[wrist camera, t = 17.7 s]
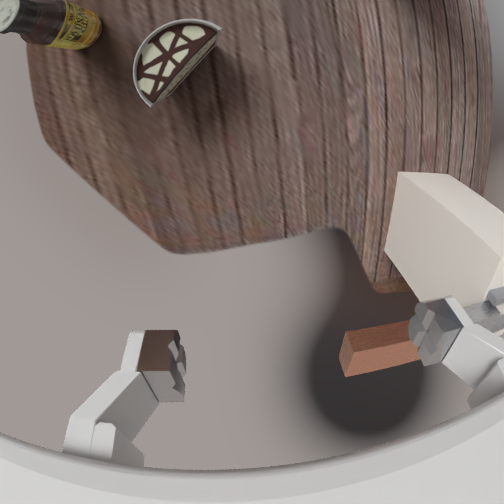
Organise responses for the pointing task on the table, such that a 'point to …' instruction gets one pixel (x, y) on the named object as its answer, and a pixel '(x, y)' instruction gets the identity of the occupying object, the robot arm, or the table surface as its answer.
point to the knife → (396, 342)
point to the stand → (447, 241)
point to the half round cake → (171, 56)
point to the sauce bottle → (50, 23)
